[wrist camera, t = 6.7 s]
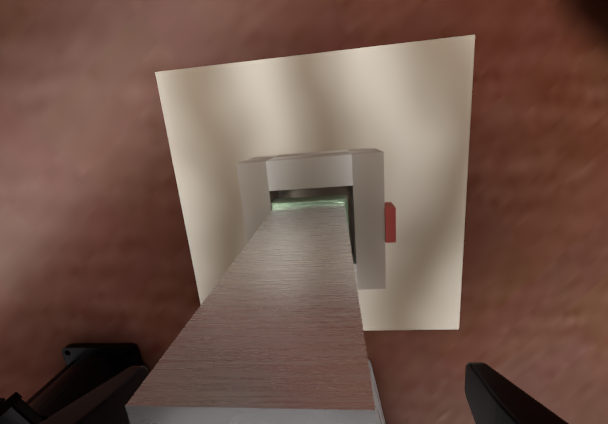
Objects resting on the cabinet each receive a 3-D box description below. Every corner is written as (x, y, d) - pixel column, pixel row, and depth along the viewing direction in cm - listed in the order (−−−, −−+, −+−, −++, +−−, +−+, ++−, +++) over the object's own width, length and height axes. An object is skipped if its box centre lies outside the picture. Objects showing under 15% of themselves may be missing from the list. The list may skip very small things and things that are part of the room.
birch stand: (212, 322, 24) (180, 374, 19) (165, 75, 19) (106, 56, 14) (452, 318, 22) (487, 375, 17) (465, 40, 17) (520, 4, 12)
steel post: (283, 262, 16) (165, 573, 5) (276, 198, 15) (111, 396, 4) (349, 259, 16) (391, 591, 4) (346, 193, 15) (388, 400, 4)
